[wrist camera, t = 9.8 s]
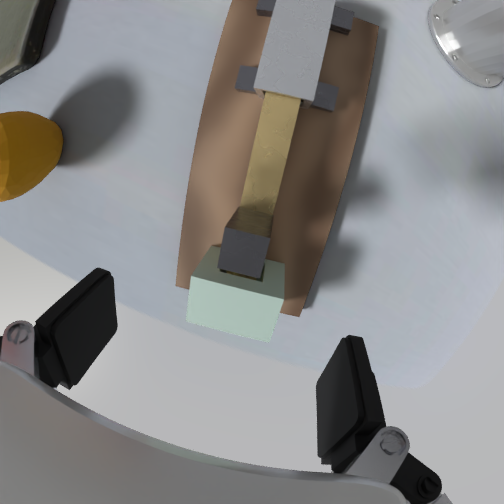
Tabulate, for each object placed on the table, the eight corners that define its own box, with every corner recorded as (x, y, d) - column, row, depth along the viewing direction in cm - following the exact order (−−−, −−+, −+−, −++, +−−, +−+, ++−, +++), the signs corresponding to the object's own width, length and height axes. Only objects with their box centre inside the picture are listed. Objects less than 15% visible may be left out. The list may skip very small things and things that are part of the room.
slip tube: (307, 73, 20) (318, 42, 12) (256, 281, 28) (245, 333, 21) (274, 65, 20) (269, 31, 12) (227, 274, 28) (207, 323, 21)
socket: (284, 263, 29) (284, 299, 23) (272, 302, 31) (269, 342, 25) (211, 245, 29) (191, 275, 23) (204, 285, 31) (185, 321, 25)
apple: (36, 192, 31) (-28, 218, 19) (26, 126, 27) (-39, 137, 15) (82, 173, 29) (6, 197, 17) (72, 96, 25) (-4, 95, 13)
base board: (374, 30, 19) (378, 26, 18) (298, 309, 33) (299, 316, 31) (236, -1, 20) (234, -6, 18) (179, 279, 33) (175, 285, 32)
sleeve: (351, 16, 18) (363, -6, 13) (330, 115, 23) (341, 109, 18) (263, -4, 18) (258, -29, 13) (236, 94, 23) (225, 83, 18)
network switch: (76, -43, 14) (59, -52, 9) (54, 57, 23) (31, 53, 18) (0, 16, 17) (-16, 14, 12) (-15, 108, 26) (-33, 110, 21)
